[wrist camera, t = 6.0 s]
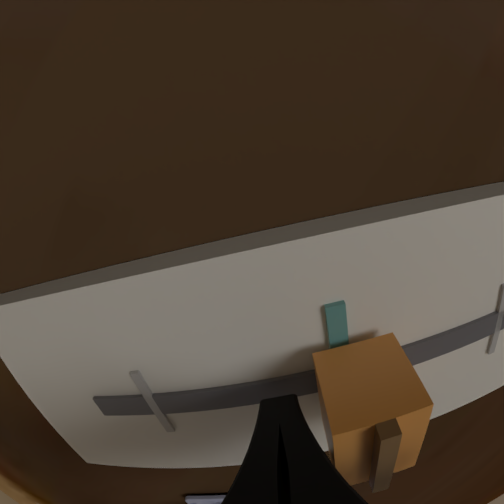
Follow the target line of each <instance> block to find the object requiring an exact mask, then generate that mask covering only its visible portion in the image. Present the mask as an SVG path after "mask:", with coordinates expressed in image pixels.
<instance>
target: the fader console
mask: <svg viewBox="0 0 504 504" xmlns="http://www.w3.org/2000/svg"><path fill="white" fill-rule="evenodd" d="M392 332H393V334H394V335H395V337H396V339H397V340H398V342H399V344H400V345H401V347H402V349H403V350H404V352H405V354H406V356H407V357H408V359H409V361H410V362H411V364H412V366H413V368H414V369H415V371H416V373H417V375H418V376H419V378H420V380H421V382H422V383H423V385H424V387H425V389H426V391H427V392H428V394H429V396H430V398H431V400H432V402H433V403H434V405H433V409H432V413H431V416H430V419H432V418H435V417H437V416H440V415H442V414H445V413H447V412H449V411H452V410H454V409H456V408H458V407H461V406H463V405H465V404H467V403H469V402H471V401H474V400H476V399H478V398H480V397H482V396H484V395H486V394H488V393H490V392H492V391H494V390H495V389H497V388H499V387H501V386H503V385H504V182H499V183H493V184H488V185H483V186H477V187H472V188H467V189H461V190H456V191H451V192H446V193H441V194H436V195H431V196H425V197H420V198H415V199H410V200H405V201H400V202H395V203H391V204H386V205H381V206H376V207H371V208H366V209H361V210H357V211H352V212H347V213H342V214H337V215H333V216H328V217H323V218H319V219H314V220H309V221H305V222H300V223H295V224H291V225H286V226H282V227H277V228H273V229H268V230H264V231H259V232H255V233H250V234H246V235H241V236H237V237H232V238H228V239H224V240H219V241H215V242H210V243H206V244H202V245H197V246H193V247H189V248H184V249H180V250H176V251H172V252H167V253H163V254H159V255H155V256H151V257H146V258H142V259H138V260H134V261H130V262H126V263H121V264H117V265H113V266H109V267H105V268H101V269H97V270H93V271H89V272H85V273H81V274H77V275H73V276H69V277H65V278H61V279H57V280H53V281H49V282H45V283H41V284H37V285H33V286H30V287H26V288H22V289H18V290H14V291H10V292H7V293H3V294H0V357H1V358H2V360H3V361H4V363H5V364H6V366H7V367H8V369H9V370H10V372H11V373H12V375H13V376H14V378H15V379H16V380H17V382H18V383H19V385H20V386H21V387H22V389H23V390H24V391H25V393H26V394H27V395H28V397H29V398H30V399H31V401H32V402H33V403H34V405H35V406H36V407H37V408H38V410H39V411H40V412H41V413H42V414H43V416H44V417H45V418H46V419H47V420H48V422H49V423H50V424H51V425H52V426H53V427H54V429H55V430H56V431H57V432H58V433H59V434H60V435H61V436H62V438H63V439H64V440H65V441H66V442H67V443H68V444H69V445H70V446H71V447H72V448H73V449H74V450H75V451H76V452H77V453H78V454H79V455H80V456H81V457H82V458H83V459H84V460H85V461H86V462H87V463H92V464H101V465H112V466H124V467H142V468H201V467H219V466H232V465H242V462H243V460H244V458H245V455H246V453H247V450H248V447H249V444H250V441H251V438H252V435H253V432H254V428H255V425H256V421H257V416H258V411H259V405H260V401H261V400H262V399H268V398H273V397H279V396H284V395H289V394H295V395H297V397H298V402H299V405H300V408H301V410H302V413H303V415H304V417H305V420H306V422H307V424H308V426H309V428H310V430H311V431H312V433H313V435H314V437H315V438H316V440H317V442H318V443H319V445H320V447H321V448H322V450H323V451H329V449H328V444H327V440H326V435H325V430H324V426H323V421H322V416H321V409H320V402H319V395H318V388H317V382H316V375H315V369H314V362H313V356H312V353H315V352H320V351H324V350H328V349H332V348H336V347H340V346H344V345H348V344H352V343H356V342H360V341H364V340H367V339H371V338H374V337H378V336H382V335H385V334H388V333H392Z"/></svg>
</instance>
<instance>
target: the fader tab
mask: <svg viewBox="0 0 504 504" xmlns="http://www.w3.org/2000/svg"><path fill="white" fill-rule="evenodd" d="M312 356H313V362H314V369H315V375H316V382H317V388H318V395H319V402H320V409H321V416H322V421H323V426H324V430H325V435H326V440H327V444H328V449H329V454H330V458H331V463H332V464H333V465H334V467H335V468H336V469H337V470H338V472H339V473H340V474H341V475H342V477H343V478H344V479H345V480H346V481H347V482H348V484H349V485H354V484H358V483H362V482H365V481H369V483H370V486H371V490H372V493H375V492H378V491H382V490H385V489H388V488H389V485H390V481H391V478H392V474H393V473H395V472H398V471H401V470H404V469H406V468H409V467H412V466H415V463H416V460H417V457H418V454H419V452H420V449H421V446H422V443H423V440H424V436H425V433H426V430H427V427H428V423H429V420H430V416H431V413H432V409H433V405H434V403H433V402H432V400H431V398H430V396H429V394H428V392H427V391H426V389H425V387H424V385H423V383H422V382H421V380H420V378H419V376H418V375H417V373H416V371H415V369H414V368H413V366H412V364H411V362H410V361H409V359H408V357H407V356H406V354H405V352H404V350H403V349H402V347H401V345H400V344H399V342H398V340H397V339H396V337H395V335H394V334H393V332H392V333H388V334H385V335H382V336H378V337H374V338H371V339H367V340H364V341H360V342H356V343H352V344H348V345H344V346H340V347H336V348H332V349H328V350H324V351H320V352H315V353H312Z"/></svg>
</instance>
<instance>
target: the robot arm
mask: <svg viewBox="0 0 504 504" xmlns="http://www.w3.org/2000/svg"><path fill="white" fill-rule="evenodd" d="M185 501H186V502H187V503H188V504H368V503H367V502H366V501H365V500H364V499H363V498H362V497H361V496H360V495H359V494H358V493H357V492H356V491H355V490H354V489H353V488H352V487H351V486H350V485H349V484H348V482H347V481H346V480H345V479H344V478H343V477H342V475H341V474H340V473H339V472H338V470H337V469H336V468H335V467H334V465H333V464H332V463H331V461H330V460H329V458H328V457H327V456H326V454H325V453H324V451H323V450H322V448H321V447H320V445H319V443H318V442H317V440H316V438H315V437H314V435H313V433H312V431H311V430H310V428H309V426H308V424H307V422H306V420H305V417H304V415H303V413H302V410H301V408H300V405H299V402H298V397H297V395H295V394H289V395H284V396H279V397H273V398H268V399H262V400H261V401H260V405H259V411H258V416H257V421H256V425H255V428H254V432H253V435H252V438H251V441H250V444H249V447H248V450H247V453H246V455H245V458H244V460H243V462H242V465H241V467H240V470H239V472H238V474H237V476H236V478H235V480H234V482H233V484H232V486H231V488H230V489H229V491H228V493H227V495H207V496H186V497H185Z"/></svg>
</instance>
